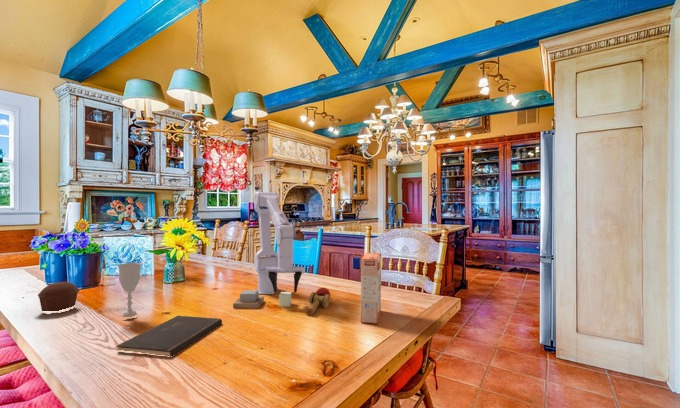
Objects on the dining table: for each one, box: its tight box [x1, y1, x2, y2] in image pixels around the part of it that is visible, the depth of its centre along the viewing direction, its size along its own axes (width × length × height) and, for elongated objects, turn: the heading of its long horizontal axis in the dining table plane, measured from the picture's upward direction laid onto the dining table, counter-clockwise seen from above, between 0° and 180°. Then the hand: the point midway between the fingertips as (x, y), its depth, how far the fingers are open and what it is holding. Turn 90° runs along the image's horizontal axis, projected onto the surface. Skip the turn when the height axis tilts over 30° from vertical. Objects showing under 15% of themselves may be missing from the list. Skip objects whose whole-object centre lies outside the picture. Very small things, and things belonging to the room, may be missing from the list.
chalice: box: [117, 262, 143, 317], centre depth 106 cm, size 7×7×18 cm
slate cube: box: [239, 289, 260, 302], centre depth 120 cm, size 6×6×3 cm
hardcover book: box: [115, 315, 223, 357], centre depth 90 cm, size 16×23×2 cm
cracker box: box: [360, 252, 382, 325], centre depth 107 cm, size 14×6×21 cm, turn 168°
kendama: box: [305, 287, 331, 317], centre depth 116 cm, size 8×6×18 cm
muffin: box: [37, 281, 80, 312], centre depth 114 cm, size 12×11×10 cm
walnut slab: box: [232, 296, 265, 310], centre depth 120 cm, size 9×9×2 cm
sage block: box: [278, 291, 293, 308], centre depth 120 cm, size 4×4×4 cm
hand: (285, 291), depth 120 cm, fingers open, 7 cm apart
